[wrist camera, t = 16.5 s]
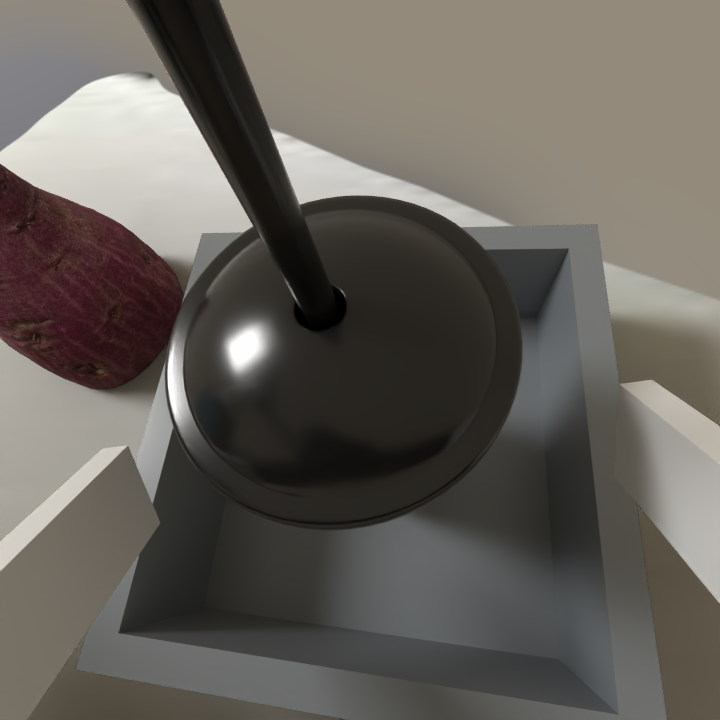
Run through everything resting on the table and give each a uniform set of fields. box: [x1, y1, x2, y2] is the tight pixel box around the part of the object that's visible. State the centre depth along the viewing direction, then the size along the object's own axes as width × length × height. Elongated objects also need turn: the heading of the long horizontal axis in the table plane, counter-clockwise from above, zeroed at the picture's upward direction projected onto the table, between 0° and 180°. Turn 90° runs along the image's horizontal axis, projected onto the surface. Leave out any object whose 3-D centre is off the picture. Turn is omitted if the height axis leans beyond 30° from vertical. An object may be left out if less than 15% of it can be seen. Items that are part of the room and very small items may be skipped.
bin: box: [76, 224, 667, 720], centre depth 19 cm, size 18×18×7 cm
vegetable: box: [0, 164, 184, 389], centre depth 23 cm, size 10×10×15 cm
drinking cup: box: [126, 0, 523, 530], centre depth 12 cm, size 8×8×20 cm
